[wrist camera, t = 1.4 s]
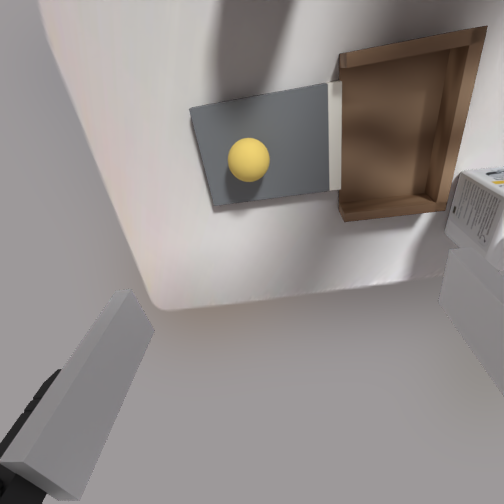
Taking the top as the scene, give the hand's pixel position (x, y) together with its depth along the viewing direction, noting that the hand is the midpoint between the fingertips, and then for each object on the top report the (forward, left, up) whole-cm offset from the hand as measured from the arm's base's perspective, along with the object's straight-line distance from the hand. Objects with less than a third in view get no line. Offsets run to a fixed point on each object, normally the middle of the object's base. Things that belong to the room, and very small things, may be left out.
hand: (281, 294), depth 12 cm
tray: (0, +11, -21) cm, 24 cm away
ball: (-1, -3, -18) cm, 18 cm away
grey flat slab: (-1, -1, -21) cm, 21 cm away
